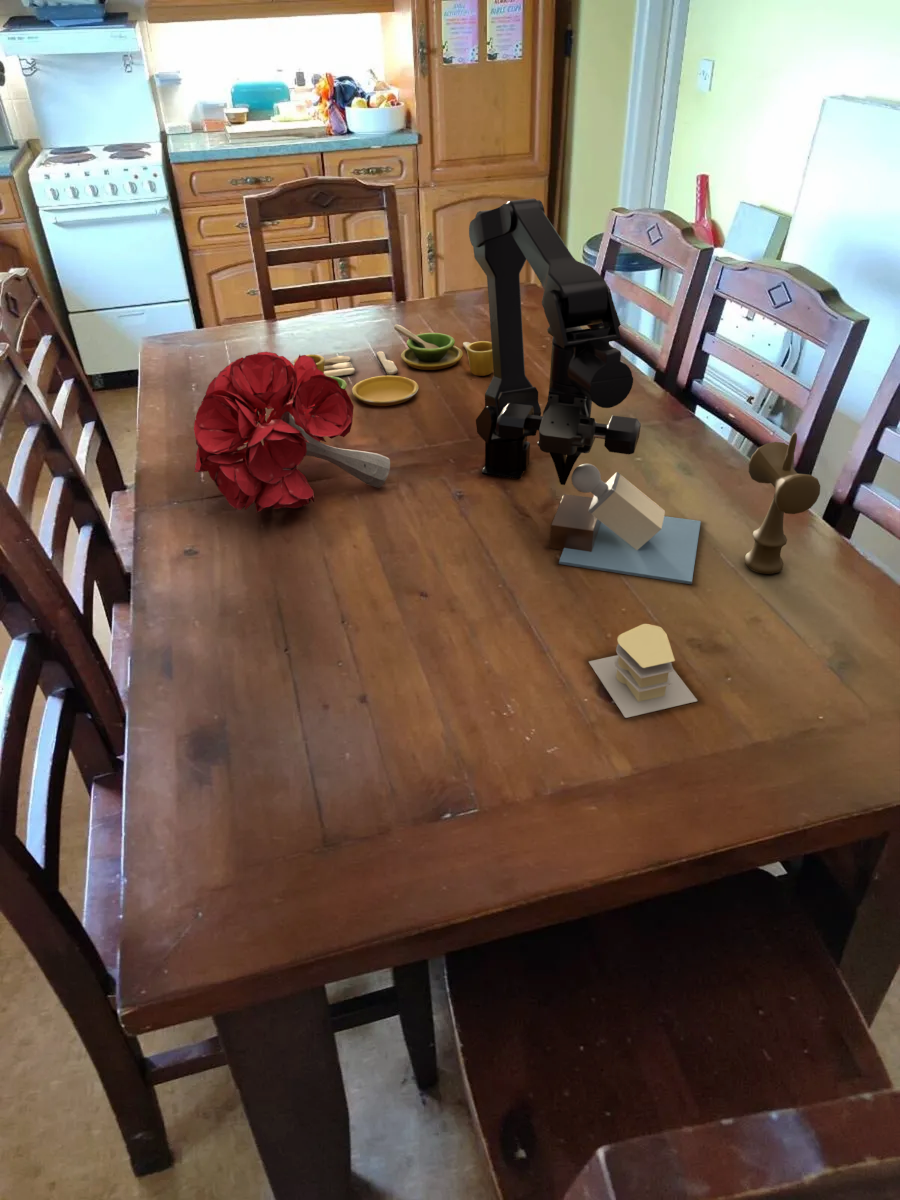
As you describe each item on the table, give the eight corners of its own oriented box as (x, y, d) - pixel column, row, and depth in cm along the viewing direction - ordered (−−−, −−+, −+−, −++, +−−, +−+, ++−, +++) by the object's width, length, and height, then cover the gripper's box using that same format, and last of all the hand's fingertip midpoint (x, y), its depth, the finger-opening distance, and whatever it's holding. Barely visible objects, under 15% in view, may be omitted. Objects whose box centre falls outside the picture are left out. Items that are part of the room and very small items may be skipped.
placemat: (558, 564, 119) (559, 561, 119) (579, 507, 131) (579, 504, 131) (691, 584, 114) (692, 581, 114) (700, 523, 127) (700, 520, 126)
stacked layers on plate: (697, 701, 97) (705, 664, 93) (625, 718, 95) (630, 681, 91) (656, 647, 104) (662, 611, 101) (588, 661, 102) (591, 625, 99)
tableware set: (474, 344, 187) (474, 315, 183) (512, 394, 166) (513, 362, 162) (285, 364, 180) (281, 335, 176) (299, 419, 158) (294, 387, 154)
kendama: (770, 545, 122) (802, 414, 110) (798, 585, 114) (836, 448, 102) (729, 548, 121) (756, 417, 109) (754, 588, 113) (787, 451, 101)
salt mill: (559, 532, 122) (570, 470, 116) (566, 515, 126) (577, 454, 120) (654, 554, 120) (671, 492, 114) (658, 536, 124) (675, 474, 117)
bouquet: (343, 490, 150) (172, 432, 136) (405, 374, 139) (225, 298, 125) (362, 565, 134) (170, 508, 120) (433, 441, 123) (230, 362, 109)
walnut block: (549, 548, 122) (550, 524, 120) (561, 516, 129) (563, 493, 126) (591, 554, 121) (593, 530, 118) (601, 522, 127) (604, 499, 125)
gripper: (485, 393, 107) (483, 501, 117) (635, 411, 103) (621, 522, 112) (508, 361, 116) (504, 464, 125) (647, 376, 111) (633, 482, 120)
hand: (563, 483), depth 120 cm, fingers closed
